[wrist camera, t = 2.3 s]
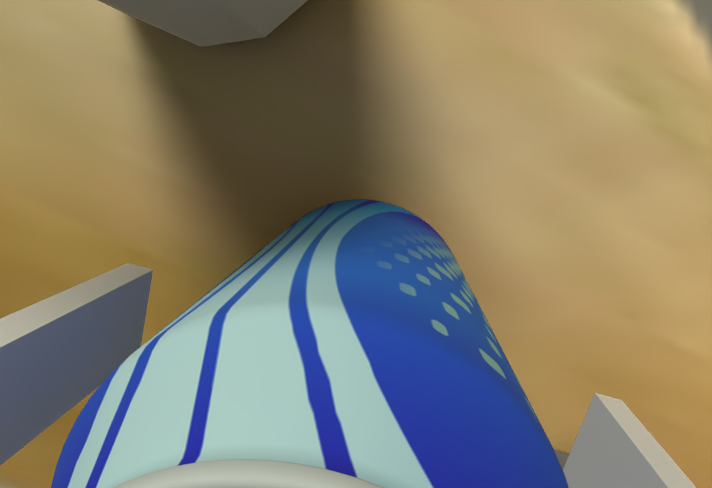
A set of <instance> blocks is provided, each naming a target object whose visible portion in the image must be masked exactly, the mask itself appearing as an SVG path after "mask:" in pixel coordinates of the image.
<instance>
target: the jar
mask: <svg viewBox="0 0 712 488" xmlns="http://www.w3.org/2000/svg"><path fill="white" fill-rule="evenodd" d="M98 1H101V2H103V3H105V4H107V5H109V6H111V7H113V8H115V9H117V10H119V11H122V12H124V13H126V14H128V15H130V16H132V17H134V18H136V19H138V20H140V21H143V22H145V23H147V24H150V25H152V26H154V27H156V28H159V29H161V30H163V31H166V32H168V33H170V34H172V35H175V36H177V37H179V38H182V39H184V40H186V41H189V42H191V43H193V44H195V45H198V46H200V47H205V46H211V45H218V44H225V43H231V42H238V41H244V40H251V39H257V38H264V37H266V36H267V35H268V34H270V33H271V32H272V31H273V30H274V29H275V28H276V27H278V26H279V25H280V24H281V23H282V22H283V21H285V20H286V19H287V18H288V17H289V16H290V15H291V14H293V13H294V12H295V11H296V10H297V9H298V8H300V7H301V6H302V5H303V4H304V3H305V2H306V1H308V0H98Z"/></svg>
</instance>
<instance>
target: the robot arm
mask: <svg viewBox="0 0 712 488" xmlns="http://www.w3.org/2000/svg"><path fill="white" fill-rule="evenodd" d="M152 272H153V270H152V269H148V268H144V267H141V266H137V265H134V264H130V263H127V264H125V265H122V266H120V267H118V268H115V269H113V270H111V271H109V272H106V273H104V274H102V275H99V276H97V277H95V278H93V279H90V280H88V281H86V282H83V283H81V284H79V285H77V286H74V287H72V288H70V289H67V290H65V291H63V292H61V293H58V294H56V295H54V296H51V297H49V298H47V299H45V300H42V301H40V302H38V303H35V304H33V305H31V306H29V307H26V308H24V309H22V310H19V311H17V312H15V313H13V314H10V315H8V316H6V317H3V318H1V319H0V465H1V464H3V463H4V462H5V461H6V460H8V459H9V458H10V457H11V456H13V455H14V454H15V453H16V452H18V451H19V450H20V449H21V448H23V447H24V446H25V445H26V444H28V443H29V442H30V441H31V440H33V439H34V438H35V437H36V436H38V435H39V434H40V433H41V432H43V431H44V430H45V429H46V428H47V427H49V426H50V425H51V424H52V423H54V422H55V421H56V420H57V419H59V418H60V417H61V416H62V415H64V414H65V413H66V412H67V411H69V410H70V409H71V408H72V407H74V406H75V405H76V404H77V403H79V402H80V401H81V400H82V399H84V398H85V397H86V396H87V395H89V394H90V393H91V392H92V391H94V390H95V389H96V388H97V387H99V386H100V385H101V384H102V383H103V382H104V381H105V380H106V379H107V378H108V376H109V375H110V374H111V373H112V372H113V371H114V370H115V369H116V368H117V367H118V366H119V365H120V364H121V363H122V362H124V361H125V360H126V359H127V358H128V357H129V356H130V355H131V354H132V353H134V352H135V351H136V350H137V349H139V348H140V347H141V341H142V334H143V328H144V322H145V316H146V309H147V303H148V297H149V291H150V284H151V278H152ZM563 472H564V474H565V477H566V480H567V483H568V487H569V488H696V487H695V486H694V484H693V483H692V482H691V481H690V480H689V479H688V477H687V476H686V475H685V474H684V473H683V472H682V470H681V469H680V468H679V467H678V466H677V464H676V463H675V462H674V461H673V460H672V459H671V457H670V456H669V455H668V454H667V453H666V452H665V450H664V449H663V448H662V447H661V446H660V445H659V443H658V442H657V441H656V440H655V439H654V438H653V436H652V435H651V434H650V433H649V432H648V430H647V429H646V428H645V427H644V426H643V425H642V423H641V422H640V421H639V420H638V419H637V418H636V416H635V415H634V414H633V413H632V412H631V411H630V409H629V408H628V407H627V406H626V405H625V404H624V402H623V401H622V400H619V399H615V398H612V397H608V396H605V395H601V394H597V393H595V394H594V396H593V399H592V401H591V403H590V406H589V408H588V411H587V413H586V415H585V418H584V420H583V423H582V425H581V428H580V430H579V432H578V435H577V437H576V440H575V442H574V444H573V447H572V449H571V452H570V454H569V456H568V459H567V461H566V464H565V466H564V469H563Z"/></svg>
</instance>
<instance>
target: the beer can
mask: <svg viewBox="0 0 712 488" xmlns="http://www.w3.org/2000/svg"><path fill="white" fill-rule="evenodd" d="M51 488H569V487H568V483H567V480H566V477H565V474H564V472H563V469H562V467H561V465H560V463H559V460H558V458H557V456H556V453H555V451H554V449H553V447H552V445H551V443H550V441H549V439H548V437H547V436H546V434H545V432H544V430H543V428H542V426H541V424H540V422H539V420H538V418H537V416H536V414H535V412H534V410H533V408H532V406H531V405H530V403H529V401H528V399H527V397H526V395H525V393H524V391H523V389H522V387H521V385H520V383H519V381H518V379H517V377H516V375H515V374H514V372H513V370H512V368H511V366H510V364H509V362H508V360H507V358H506V356H505V354H504V352H503V350H502V348H501V346H500V344H499V343H498V341H497V339H496V337H495V335H494V333H493V331H492V329H491V327H490V325H489V323H488V321H487V319H486V317H485V315H484V314H483V312H482V310H481V308H480V306H479V304H478V302H477V300H476V298H475V296H474V294H473V292H472V290H471V288H470V286H469V284H468V283H467V281H466V279H465V277H464V275H463V273H462V271H461V269H460V267H459V265H458V263H457V261H456V259H455V257H454V255H453V254H452V252H451V250H450V249H449V247H448V245H447V244H446V243H445V241H444V240H443V239H442V237H441V236H440V235H439V234H438V233H437V232H436V231H435V230H434V229H433V228H432V227H431V226H430V225H429V224H427V223H426V222H425V221H423V220H422V219H421V218H419V217H418V216H416V215H414V214H413V213H411V212H409V211H407V210H405V209H403V208H400V207H398V206H395V205H392V204H388V203H385V202H380V201H374V200H347V201H340V202H336V203H332V204H328V205H325V206H323V207H320V208H318V209H316V210H314V211H311V212H310V213H308V214H306V215H305V216H303V217H302V218H300V219H299V220H298V221H296V222H295V223H294V224H293V225H291V226H290V227H289V228H288V229H286V230H285V231H284V232H283V233H281V234H280V235H279V236H278V237H276V238H275V239H274V240H273V241H271V242H270V243H269V244H268V245H266V246H265V247H264V248H263V249H261V250H260V251H259V252H258V253H257V254H255V255H254V256H253V257H252V258H250V259H249V260H248V261H247V262H245V263H244V264H243V265H242V266H240V267H239V268H238V269H237V270H235V271H234V272H233V273H232V274H230V275H229V276H228V277H227V278H226V279H224V280H223V281H222V282H221V283H219V284H218V285H217V286H216V287H214V288H213V289H212V290H211V291H209V292H208V293H207V294H206V295H204V296H203V297H202V298H201V299H199V300H198V301H197V302H196V303H194V304H193V305H192V306H191V307H190V308H188V309H187V310H186V311H185V312H183V313H182V314H181V315H180V316H178V317H177V318H176V319H175V320H173V321H172V322H171V323H170V324H168V325H167V326H166V327H165V328H163V329H162V330H161V331H160V332H159V333H157V334H156V335H155V336H154V337H152V338H151V339H150V340H149V341H147V342H146V343H145V344H144V345H142V346H141V347H140V348H139V349H137V350H136V351H135V352H134V353H132V354H131V355H130V356H129V357H128V358H127V359H126V360H125V361H124V362H122V363H121V364H120V365H119V366H118V367H117V368H116V369H115V370H114V371H113V372H112V373H111V374H110V375H109V376H108V378H107V379H106V380H105V381H104V382H103V383H102V384H101V386H100V387H99V388H98V389H97V390H96V391H95V393H94V394H93V395H92V396H91V398H90V399H89V401H88V402H87V404H86V405H85V407H84V408H83V410H82V411H81V413H80V414H79V416H78V418H77V419H76V421H75V423H74V425H73V427H72V429H71V431H70V433H69V435H68V437H67V440H66V442H65V444H64V446H63V449H62V452H61V455H60V457H59V460H58V463H57V465H56V469H55V474H54V478H53V482H52V486H51Z"/></svg>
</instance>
